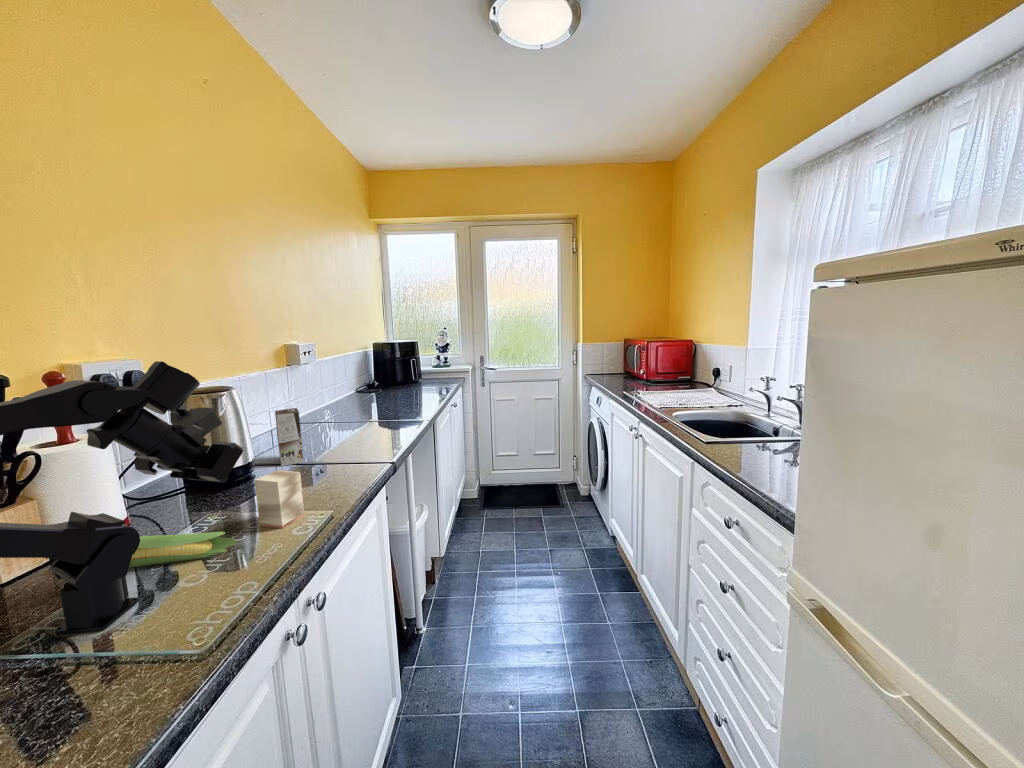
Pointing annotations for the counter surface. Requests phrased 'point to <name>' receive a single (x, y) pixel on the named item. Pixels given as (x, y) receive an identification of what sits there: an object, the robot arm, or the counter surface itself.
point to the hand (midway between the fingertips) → (225, 479)
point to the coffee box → (289, 436)
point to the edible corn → (178, 548)
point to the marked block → (279, 498)
